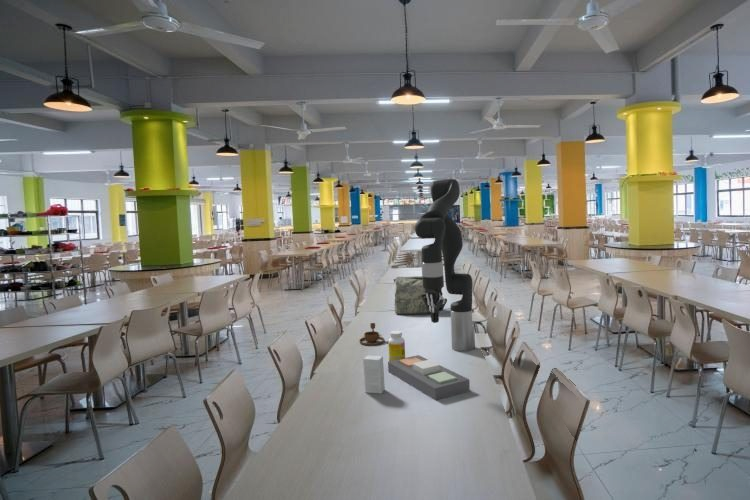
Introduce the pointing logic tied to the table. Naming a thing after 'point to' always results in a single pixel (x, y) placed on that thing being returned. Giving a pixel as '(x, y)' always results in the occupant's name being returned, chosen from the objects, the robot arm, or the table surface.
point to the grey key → (425, 367)
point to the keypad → (426, 384)
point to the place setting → (372, 337)
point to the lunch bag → (409, 296)
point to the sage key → (441, 377)
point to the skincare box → (374, 374)
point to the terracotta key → (409, 361)
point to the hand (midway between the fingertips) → (435, 322)
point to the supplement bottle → (396, 346)
